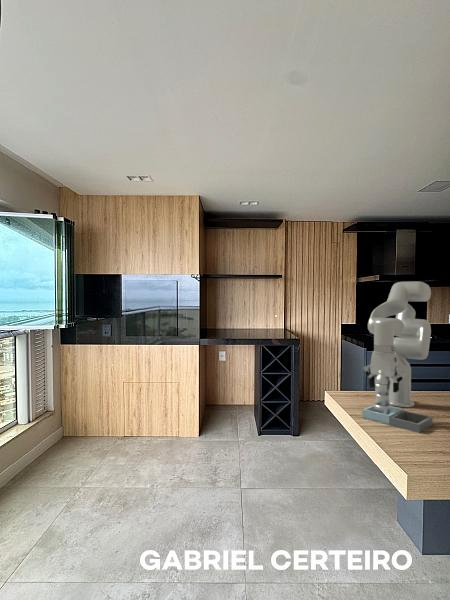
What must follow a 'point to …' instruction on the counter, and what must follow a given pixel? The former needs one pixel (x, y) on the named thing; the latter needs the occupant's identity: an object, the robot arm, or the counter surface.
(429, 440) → the counter surface
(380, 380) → the plastic bottle
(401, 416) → the bin
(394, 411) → the bin
